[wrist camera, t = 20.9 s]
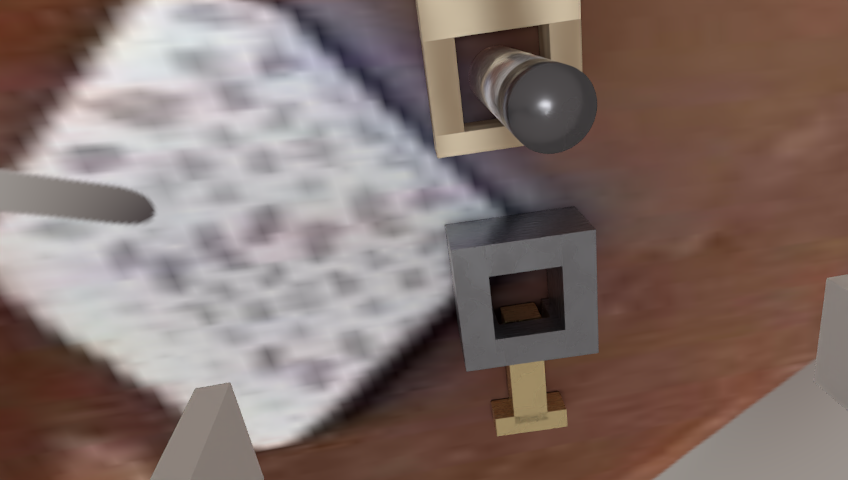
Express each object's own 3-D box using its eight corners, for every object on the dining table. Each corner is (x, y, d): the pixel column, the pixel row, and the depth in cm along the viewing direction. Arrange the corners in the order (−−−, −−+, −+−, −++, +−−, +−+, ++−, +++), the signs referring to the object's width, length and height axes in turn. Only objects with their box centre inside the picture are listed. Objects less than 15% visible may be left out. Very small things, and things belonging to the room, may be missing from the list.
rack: (434, 148, 41) (450, 204, 29) (399, -123, 34) (400, -197, 22) (571, 128, 41) (644, 176, 29) (561, -148, 34) (650, -234, 22)
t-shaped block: (492, 417, 50) (497, 436, 48) (480, 310, 46) (485, 325, 44) (559, 408, 50) (567, 426, 48) (553, 299, 46) (561, 314, 44)
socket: (459, 336, 47) (466, 371, 42) (444, 225, 43) (450, 250, 38) (578, 319, 47) (598, 352, 42) (574, 206, 43) (595, 229, 38)
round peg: (465, 49, 38) (504, 70, 24) (523, 41, 38) (596, 57, 24) (471, 108, 40) (512, 159, 26) (527, 100, 40) (597, 146, 26)
